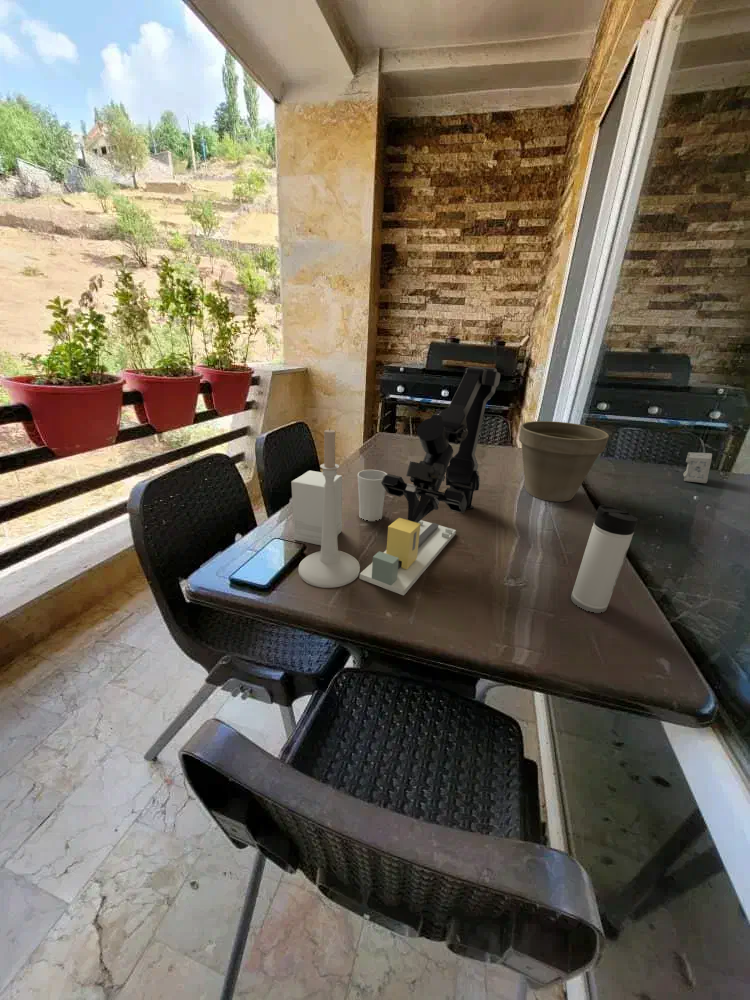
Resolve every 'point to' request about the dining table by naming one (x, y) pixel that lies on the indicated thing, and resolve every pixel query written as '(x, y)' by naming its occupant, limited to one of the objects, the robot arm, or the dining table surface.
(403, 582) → the white slide rail base
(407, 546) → the yellow sliding block
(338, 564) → the candlestick
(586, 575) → the travel mug
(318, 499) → the supplement box
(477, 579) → the dining table surface
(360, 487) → the cup
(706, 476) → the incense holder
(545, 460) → the plant pot
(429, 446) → the robot arm
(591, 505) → the dining table surface
